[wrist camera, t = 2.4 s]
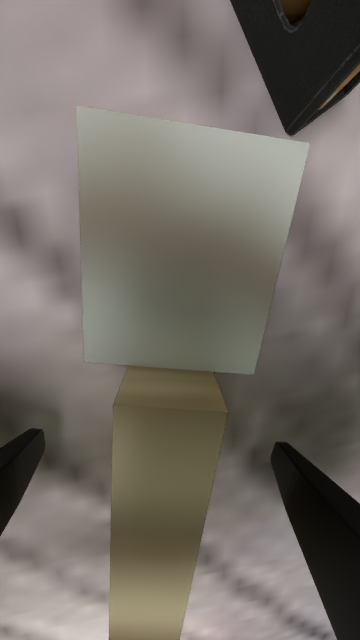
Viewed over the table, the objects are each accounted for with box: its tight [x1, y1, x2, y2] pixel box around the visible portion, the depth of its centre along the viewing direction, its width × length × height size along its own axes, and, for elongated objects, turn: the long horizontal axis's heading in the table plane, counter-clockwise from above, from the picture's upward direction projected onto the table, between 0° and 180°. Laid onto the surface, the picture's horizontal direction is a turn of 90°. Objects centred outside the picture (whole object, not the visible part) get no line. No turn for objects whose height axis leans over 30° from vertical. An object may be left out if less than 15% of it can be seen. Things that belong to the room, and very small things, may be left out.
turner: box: [76, 105, 310, 640], centre depth 7 cm, size 19×6×3 cm, turn 174°
